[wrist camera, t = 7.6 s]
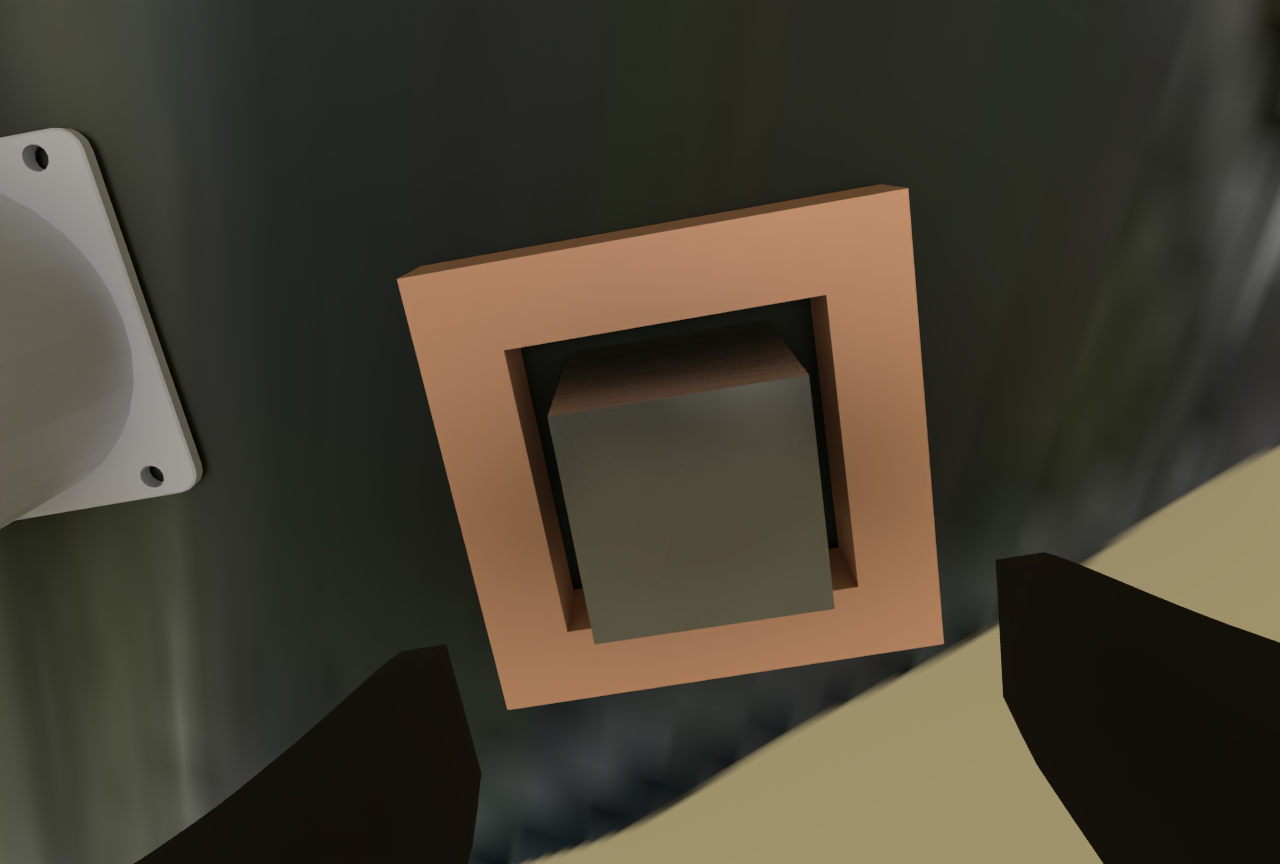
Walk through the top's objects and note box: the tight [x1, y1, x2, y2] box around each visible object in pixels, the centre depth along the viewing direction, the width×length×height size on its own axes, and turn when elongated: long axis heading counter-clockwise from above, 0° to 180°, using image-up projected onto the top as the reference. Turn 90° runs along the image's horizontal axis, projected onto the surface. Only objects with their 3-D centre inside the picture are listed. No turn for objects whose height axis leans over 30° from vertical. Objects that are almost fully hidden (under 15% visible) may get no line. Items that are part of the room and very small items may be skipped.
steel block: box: [548, 320, 835, 644], centre depth 18 cm, size 4×4×5 cm
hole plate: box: [397, 184, 944, 710], centre depth 19 cm, size 10×10×2 cm
